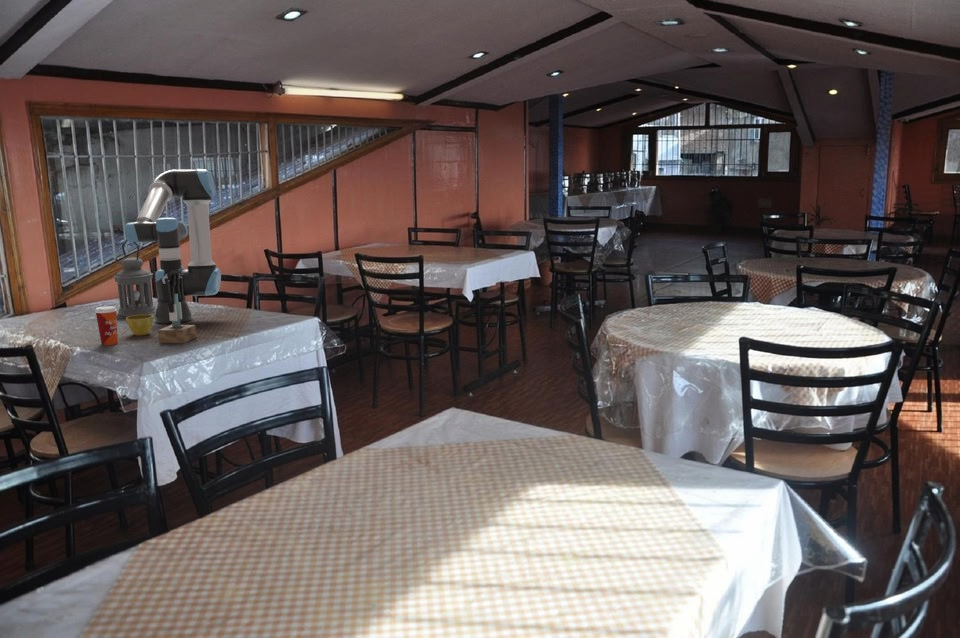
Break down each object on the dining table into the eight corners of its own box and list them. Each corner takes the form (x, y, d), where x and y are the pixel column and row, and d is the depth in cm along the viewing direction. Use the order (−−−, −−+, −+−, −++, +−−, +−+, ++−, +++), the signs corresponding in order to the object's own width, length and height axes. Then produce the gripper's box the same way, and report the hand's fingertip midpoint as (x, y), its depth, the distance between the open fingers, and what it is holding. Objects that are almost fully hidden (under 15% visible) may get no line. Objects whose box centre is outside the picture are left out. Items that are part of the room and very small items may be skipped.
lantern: (164, 309, 371) (157, 235, 364) (141, 316, 355) (133, 238, 348) (133, 308, 375) (125, 235, 368) (109, 315, 359) (100, 238, 353)
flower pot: (141, 330, 324) (139, 313, 323) (160, 332, 321) (158, 315, 319) (122, 336, 315) (120, 318, 314) (141, 337, 312) (139, 319, 310)
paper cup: (112, 346, 297) (107, 309, 295) (94, 345, 299) (89, 309, 296) (125, 341, 305) (121, 306, 302) (107, 341, 306) (103, 305, 304)
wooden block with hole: (172, 337, 311) (171, 324, 310) (196, 337, 310) (195, 324, 309) (159, 342, 301) (158, 330, 300) (184, 343, 300) (182, 330, 299)
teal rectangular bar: (175, 334, 307) (171, 293, 304) (183, 334, 306) (179, 293, 303) (171, 335, 304) (167, 294, 301) (179, 335, 303) (175, 294, 300)
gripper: (171, 256, 308) (177, 315, 312) (149, 261, 292) (156, 323, 297) (189, 256, 307) (195, 315, 311) (168, 261, 291) (174, 323, 296)
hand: (176, 319), depth 304 cm, fingers closed on teal rectangular bar, 3 cm apart
